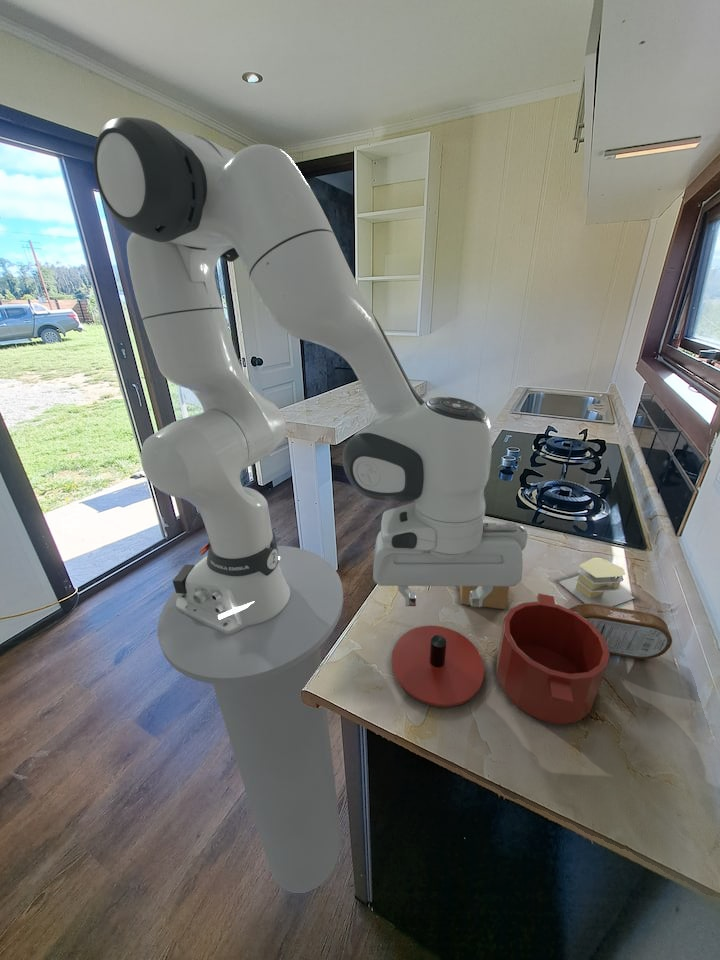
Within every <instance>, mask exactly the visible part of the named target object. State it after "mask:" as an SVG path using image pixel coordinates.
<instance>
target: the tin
mask: <svg viewBox="0 0 720 960" xmlns="http://www.w3.org/2000/svg"><path fill="white" fill-rule="evenodd" d="M568 609H569V610H572V611H574V612H576V613H578V614H579V615H581V616H582V617H583V618H585V619H586V620H587V621H589V622H590V623H592V624H593V625H594V626H595V627H596V629H597V630H598V631H599V632H600V633H601V635H602V636H603V637H604V638H605V641H606V644H607V647H608V650H609V654H610V655H616V656H622V657H626V658H632V659H637V660H651V659H654V658H657V657H660V656H662V655H664V654H666V653H667V651H669V649H670V648H671V646H672V644H673V637H672V635H671V632H670V631H669V627H668V624H667V623H666V622H665V620H664V619H663V618H661V617H659V616H658V615H656V614H653V613H650V612H646V611H641V610H636V609H635V610H634V609H628V608H624V607H617V606H606V605H600V604H594V603H580V604H576V605H574V606H573V605H572V606H571V607H569V608H568Z"/></svg>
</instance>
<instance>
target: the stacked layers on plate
mask: <svg viewBox="0 0 720 960" xmlns="http://www.w3.org/2000/svg"><path fill="white" fill-rule="evenodd" d="M578 566H579V567H580V568H579V569H578V570H577V573H579V574H578V575H576V576H572V577H570V578H566V579H563V580H560V581H558V583H559V584H560V585H561V586H563V587H564V588H565V589H566V590H567V591H569V592H570V593H571V594H572V595H574V596H575V597H576V598H577V599H578V600H580V601H581V602H582V603H583V604H585V603H594V604H600V605H606V606H612V607H616V606H618V605H621V604H623V603H626V602H629V601H631V600H634V599H636V597H635V596H633V595H632V594H630V593H629V592H627V591H626V590H625V589H623V588H622V587H621V584H620V583H622V582H623V581H625V580H624V575H626V571H625V569H624V568H623V567H621V566H620V565H617V564H615V563H614V562H611V561H608V560H607V559H605V558H603V557H602V558H601V557H592V558H590V559H589V560H586V561H584V562H582V563H580V564H579V565H578Z"/></svg>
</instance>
